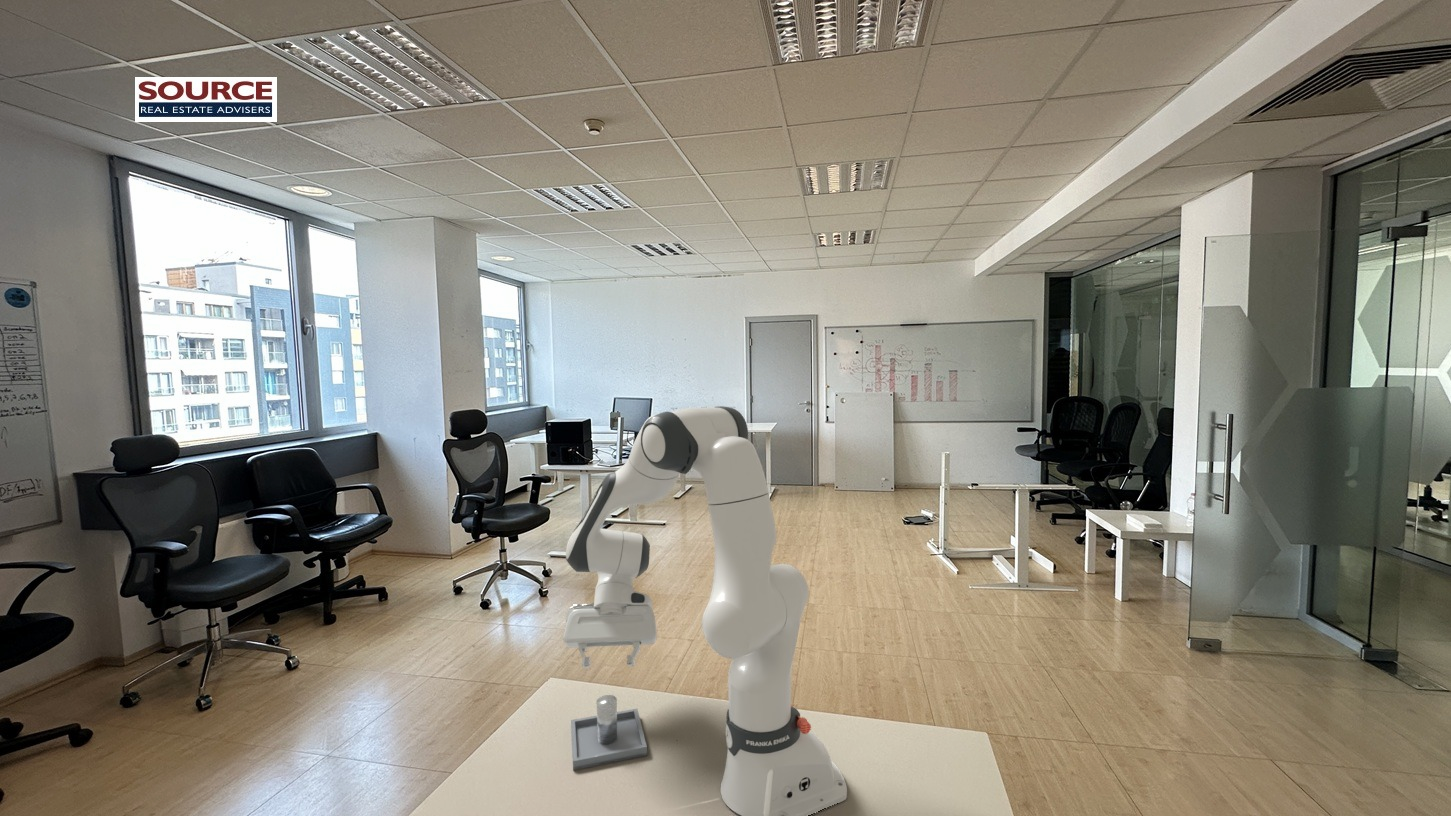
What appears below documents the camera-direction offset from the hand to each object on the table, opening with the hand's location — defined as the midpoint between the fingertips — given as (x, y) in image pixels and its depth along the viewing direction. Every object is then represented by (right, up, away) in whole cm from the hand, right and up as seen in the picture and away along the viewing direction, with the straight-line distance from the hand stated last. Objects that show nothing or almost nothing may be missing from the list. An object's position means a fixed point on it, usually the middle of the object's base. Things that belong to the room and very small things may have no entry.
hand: (608, 666), depth 122 cm
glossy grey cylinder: (+1, -12, -6) cm, 14 cm away
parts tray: (+1, -13, -6) cm, 14 cm away
